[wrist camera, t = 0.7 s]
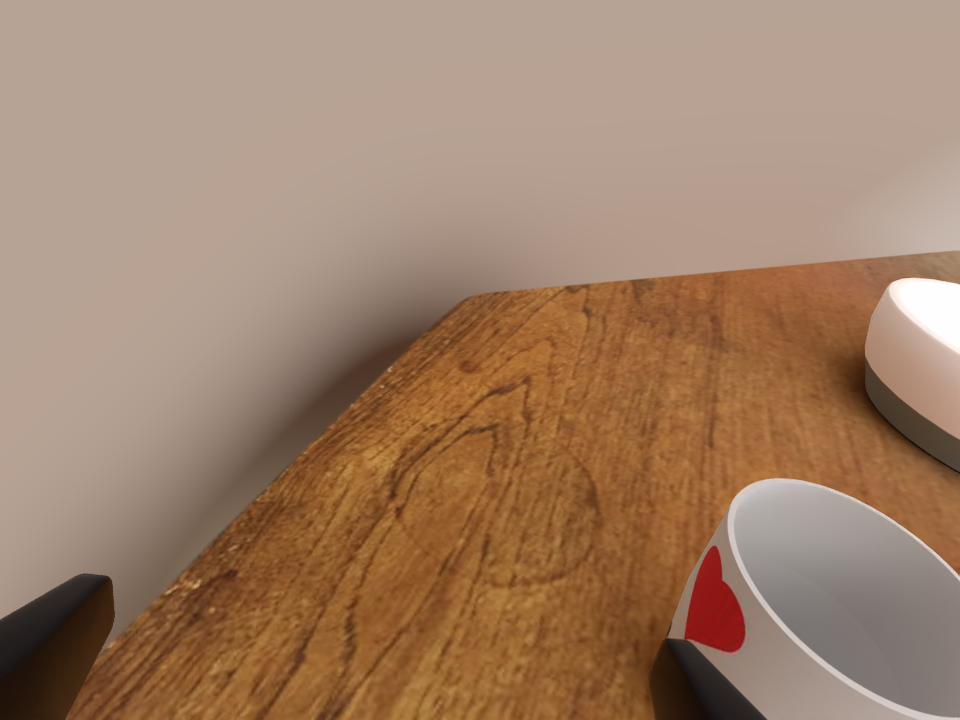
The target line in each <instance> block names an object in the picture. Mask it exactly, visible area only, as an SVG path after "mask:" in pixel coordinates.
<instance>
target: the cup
mask: <svg viewBox="0 0 960 720" xmlns="http://www.w3.org/2000/svg"><path fill="white" fill-rule="evenodd" d="M666 638H675V639H684V640H688V641H690V642H691V643H692V644H693V645H695V646H696V647H697V649H698V650H699V651H700V652H701V653H702V654H703V655H704V656H705V657H706V658H707V659H708V660H709V661H710V662H711V663H712V664H713V665H714V666H715V667H716V668H717V669H718V670H719V671H720V672H721V673H722V674H723V675H724V676H725V677H726V678H727V679H728V680H729V681H730V682H731V683H732V684H733V685H734V686H735V687H736V688H737V689H738V690H739V691H740V692H741V693H742V694H743V695H744V696H745V697H746V698H747V699H748V700H749V701H750V702H751V703H752V704H753V705H754V706H755V707H756V708H757V709H758V710H759V711H760V712H761V713H762V714H763V715H764V716H765V718H766V719H767V720H960V576H959V575H958V574H957V573H956V572H955V571H954V570H953V569H952V568H951V567H950V566H949V565H948V564H947V563H946V562H945V561H944V560H943V559H942V558H941V557H940V556H939V555H937V554H936V553H935V552H934V551H933V550H932V549H931V548H929V547H928V546H927V545H926V544H925V543H923V542H922V541H921V540H920V539H918V538H917V537H916V536H915V535H913V534H912V533H911V532H909V531H908V530H907V529H905V528H904V527H902V526H901V525H899V524H898V523H896V522H895V521H893V520H892V519H890V518H889V517H887V516H886V515H884V514H882V513H881V512H879V511H877V510H876V509H874V508H872V507H870V506H868V505H867V504H865V503H863V502H861V501H859V500H857V499H855V498H853V497H850V496H848V495H846V494H843V493H841V492H839V491H836V490H833V489H831V488H828V487H825V486H821V485H818V484H815V483H810V482H806V481H801V480H794V479H767V480H762V481H758V482H755V483H752V484H750V485H748V486H747V487H745V488H744V489H742V490H741V491H740V492H739V493H738V494H737V495H736V497H735V498H734V500H733V502H732V503H731V505H730V507H729V508H728V510H727V512H726V514H725V515H724V517H723V519H722V521H721V522H720V524H719V526H718V527H717V529H716V531H715V533H714V534H713V536H712V538H711V540H710V541H709V543H708V545H707V547H706V548H705V550H704V552H703V553H702V555H701V557H700V559H699V560H698V562H697V564H696V566H695V567H694V569H693V571H692V572H691V574H690V576H689V578H688V580H687V583H686V586H685V588H684V591H683V594H682V596H681V599H680V601H679V604H678V607H677V609H676V612H675V615H674V617H673V620H672V623H671V625H670V628H669V630H668V633H667V636H666ZM666 638H665V639H666Z"/></svg>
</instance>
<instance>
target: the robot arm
mask: <svg viewBox="0 0 960 720" xmlns="http://www.w3.org/2000/svg"><path fill="white" fill-rule="evenodd" d="M114 615H115V612H114V598H113V585H112V580H111V579H110V578H109V577H108V576H103V575H95V574H80V575H78V576H75V577H73V578H71V579H70V580H68V581H66V582H65V583H63V584H61V585H59V586H58V587H56V588H54V589H52V590H51V591H49V592H47V593H45V594H44V595H42V596H40V597H38V598H37V599H35V600H34V601H32V602H30V603H28V604H26V605H25V606H23V607H21V608H20V609H18V610H16V611H14V612H13V613H11V614H9V615H7V616H6V617H4V618H2V619H0V720H65V719H66V717H67V715H68V713H69V711H70V709H71V707H72V705H73V703H74V701H75V699H76V698H77V696H78V694H79V692H80V690H81V688H82V686H83V684H84V682H85V680H86V678H87V676H88V674H89V672H90V670H91V668H92V666H93V665H94V663H95V661H96V659H97V657H98V655H99V653H100V651H101V649H102V647H103V645H104V643H105V641H106V639H107V637H108V635H109V633H110V631H111V629H112V626H113V622H114V617H115V616H114ZM649 686H650V692H651V697H652V703H653V708H654V714H655V719H656V720H767V719H766V718H765V716H764V715H763V714H762V713H761V712H760V711H759V710H758V709H757V708H756V707H755V706H754V705H753V704H752V703H751V702H750V701H749V700H748V699H747V698H746V697H745V696H744V695H743V694H742V693H741V692H740V691H739V690H738V689H737V688H736V687H735V686H734V685H733V684H732V683H731V682H730V681H729V680H728V679H727V678H726V677H725V676H724V675H723V674H722V673H721V672H720V671H719V670H718V669H717V668H716V667H715V666H714V665H713V664H712V663H711V662H710V661H709V660H708V659H707V658H706V657H705V656H704V655H703V654H702V653H701V652H700V651H699V650H698V649H697V647H696V646H695V645H693V644H692V643H691V642H690V641H688V640H684V639H675V638H666V639H665V640H663V642H662V643H661V646H660V648H659V651H658V653H657V655H656V658H655V660H654V662H653V665H652V667H651V670H650V674H649Z"/></svg>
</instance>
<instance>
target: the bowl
mask: <svg viewBox="0 0 960 720" xmlns="http://www.w3.org/2000/svg"><path fill="white" fill-rule="evenodd" d="M865 389H866V391H867V393H868V396H869V398H870V400H871V401H872V403H873V404H874V405H875V407H876V408H877V409H878V411H879V412H880V413H881V414H882V415H883V416H884V417H885V418H886V419H887V420H888V421H889V422H890V423H891V424H892V425H893V426H894V427H895V428H896V429H897V430H899V431H900V432H901V433H902V434H903V435H905V436H906V437H907V438H908V439H909V440H911V441H912V442H914V443H915V444H916V445H918V446H919V447H921V448H922V449H923V450H925V451H926V452H928V453H929V454H930V455H932V456H933V457H935V458H937V459H938V460H940V461H942V462H943V463H945V464H947V465H948V466H950V467H951V468H953V469H955V470H957V471H958V472H960V285H959V284H955V283H950V282H944V281H938V280H933V279H922V278H906V279H900V280H897V281H894V282H892V283H890V284H889V286H888V287H887V289H886V290H885V292H884V294H883V296H882V298H881V300H880V301H879V303H878V305H877V307H876V309H875V311H874V313H873V314H872V316H871V319H870V324H869V329H868V334H867V339H866V343H865Z"/></svg>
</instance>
